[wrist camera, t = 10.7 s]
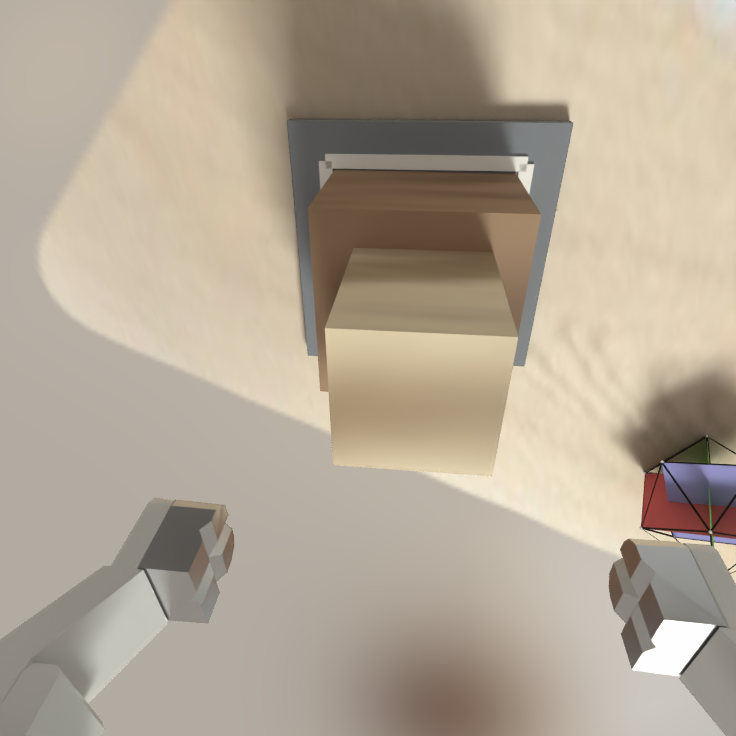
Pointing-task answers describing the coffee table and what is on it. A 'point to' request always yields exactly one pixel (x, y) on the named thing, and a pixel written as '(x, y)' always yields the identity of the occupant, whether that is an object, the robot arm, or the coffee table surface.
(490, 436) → the oak block
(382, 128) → the pad
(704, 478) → the geometric puzzle
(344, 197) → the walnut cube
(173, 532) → the robot arm
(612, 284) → the coffee table surface
